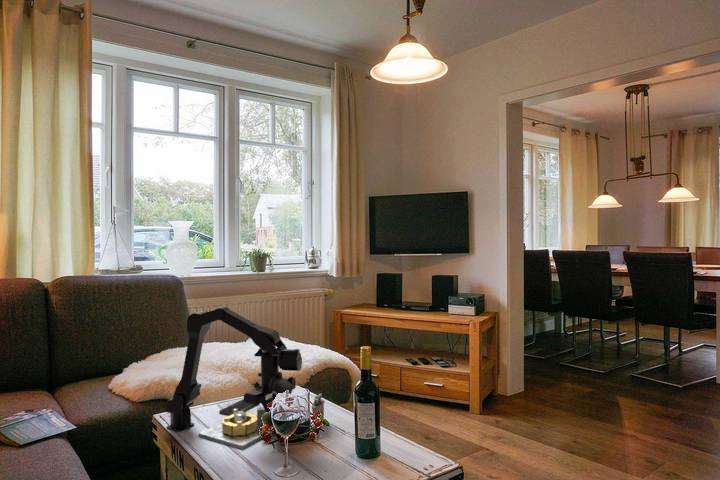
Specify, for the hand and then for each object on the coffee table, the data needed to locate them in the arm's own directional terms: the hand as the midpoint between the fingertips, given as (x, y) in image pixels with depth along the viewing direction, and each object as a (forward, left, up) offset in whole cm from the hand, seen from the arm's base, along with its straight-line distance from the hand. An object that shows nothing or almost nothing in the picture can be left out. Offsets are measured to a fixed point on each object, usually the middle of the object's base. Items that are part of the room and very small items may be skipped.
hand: (270, 417), depth 159 cm
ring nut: (-6, -2, -4) cm, 8 cm away
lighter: (+10, +13, -6) cm, 17 cm away
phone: (-25, +12, -6) cm, 29 cm away
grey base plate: (-9, -4, -5) cm, 11 cm away
